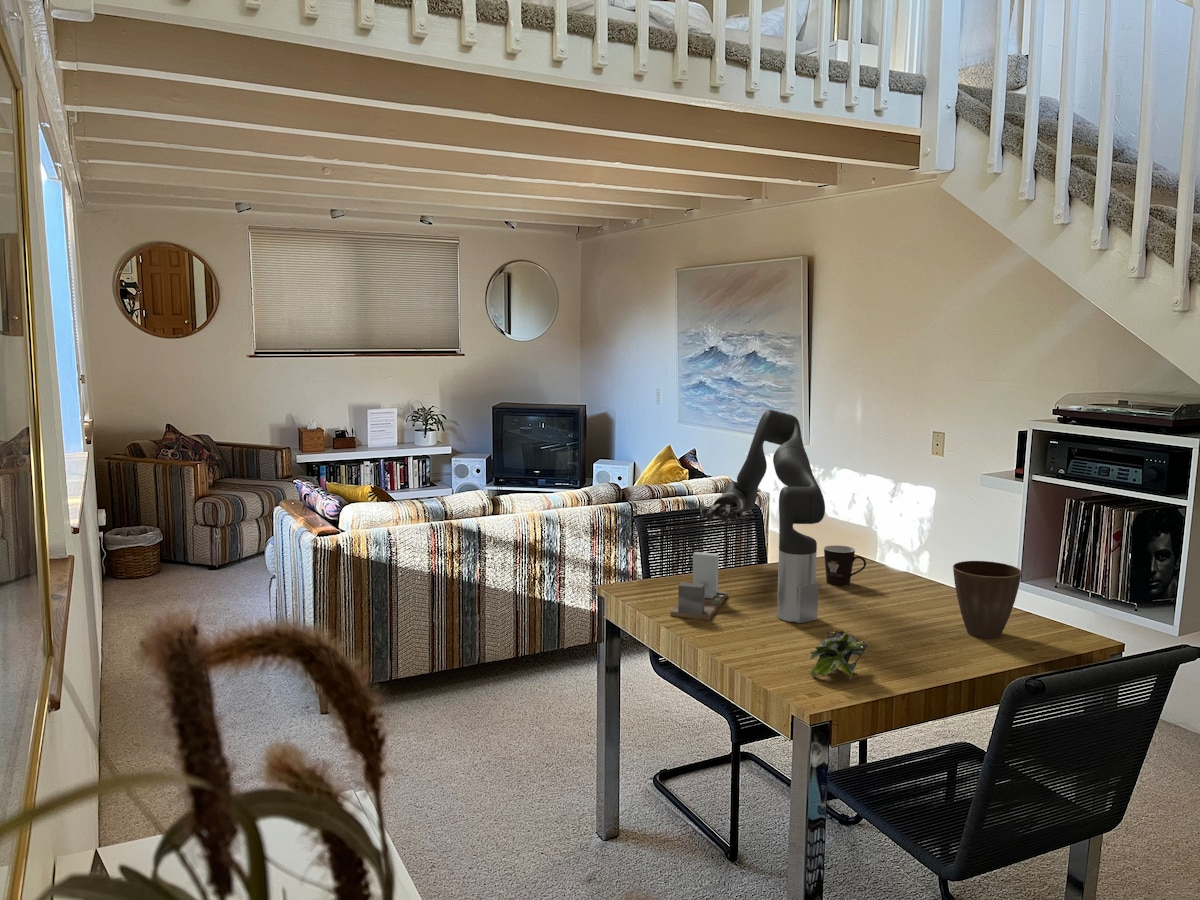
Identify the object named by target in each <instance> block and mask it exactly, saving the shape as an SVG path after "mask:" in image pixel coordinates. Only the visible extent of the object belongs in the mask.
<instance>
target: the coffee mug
mask: <svg viewBox="0 0 1200 900" xmlns="http://www.w3.org/2000/svg"><path fill="white" fill-rule="evenodd" d="M855 552H856V549H855V548H854V547H851V546H847V545H841V544H840V545H838V544H834V545H831V544H830V545H826V546H824V547H823V554H824V567H825V577H826V578H825V580H826V583H827V584H828V585H830V584H831V586H834V585H836V587H847V586H849V585H850V584H851V577H852V576H853V575H856V574H858V573H860V572H862V571H863V570H865V568H866V566H867V562H866V559H865V558H864V557H863V556H860V555H856V556H855ZM856 559H861V561H862V562H863V566H862V567H861V568H860V569H858V570H856V571H854V572H852V571H853V565H854V562H855V560H856ZM845 585H846V586H845Z"/></svg>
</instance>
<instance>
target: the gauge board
mask: <svg viewBox="0 0 1200 900" xmlns="http://www.w3.org/2000/svg"><path fill="white" fill-rule="evenodd" d="M718 593H725V596H724V595H717V596H714V597H713V599H712V598H705V584H696V583H693V582H683V581H681V582H680V583H679V584H678V596H677V597H678V598H677V599H678V602H677V604H676V605H675V606H673V608H672V609H671V610H670V617H675V616H677V617H678V618H684V617H687V619H695V620H703V619H705V620H704V621H710V620H711V619H712V618H713V616H714V615H715V614H716V612H717V611H718V610H719V608H720V607H721V605H722V604H723V603H724V601H725V600H726V599H725V598H727V597H728V591H724V590H718ZM722 602H723V603H722ZM719 606H720V607H719ZM679 616H680V617H679ZM710 618H711V619H710Z"/></svg>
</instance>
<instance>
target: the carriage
mask: <svg viewBox="0 0 1200 900" xmlns="http://www.w3.org/2000/svg"><path fill="white" fill-rule="evenodd" d="M719 557H720V556H719V553H712V552H711V553H710V552H702V551H694V552H693V554H692V583H696V584H705V598H712V599H713V597H714V596H717V595H724V596H725V593H718V591H719V562H720V561H719Z"/></svg>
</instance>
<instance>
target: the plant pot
mask: <svg viewBox="0 0 1200 900" xmlns="http://www.w3.org/2000/svg"><path fill="white" fill-rule="evenodd" d="M952 570H953V580H954V586H955V587H954V588H955V592H956V597H957V598H956V599H957V602H958V607H959V610H960V614H961V616H962V617H961V618H962V620H963V624H964V626H965V627H964V628H965V629H966V632H967V633H968V634H969V635H970V636H973V637H975V638H976V637H977V638H982V639H997V638H1000V637H1001V635H1002V634H1003V631H1004V630H1005V627H1006V625H1007V623H1008V621H1009V618H1010V616H1011V613H1012V611H1013V607H1014V605H1015V601H1016V599H1017V595H1018V591H1019V589H1020V588H1019V587H1020V582H1021V577H1022V570H1021V569H1020V568H1018V567H1016V566H1013V565H1011V564H1006V563H1001V562H995V561H987V560H965V561H959V562H956V563H954V564H953V565H952Z"/></svg>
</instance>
